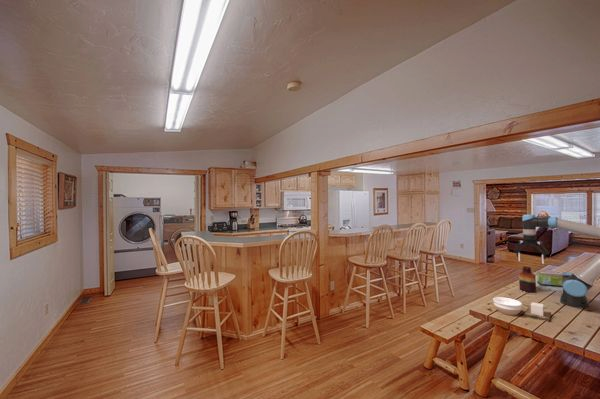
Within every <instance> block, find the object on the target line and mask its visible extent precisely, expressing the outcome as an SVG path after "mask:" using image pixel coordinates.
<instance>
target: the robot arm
mask: <svg viewBox="0 0 600 399" xmlns="http://www.w3.org/2000/svg"><path fill="white" fill-rule="evenodd" d="M521 216H522V234H523V235H522V237H523V238H522V240H520V239H519V240H518V241H517V244H516V245H515V248H514V249H513V252H514V253H516V257H517V258H518V262H521V251H522V250H523V249H524V248H526V247H527V248H529V247H530V248H533V247H534V248H535V249H537V251H538V252H540V253H541V263H542V265H544V264H545V260H546V259H547V258H546V256H547V255H549V254H550V253H549V251H548V250H547V249H546V246H544V243H543V241H542V240H541V241H537V235H536V234H537V230H536V228H550V229H551V228H554V229H557V230H558V229H559V230H563V231H568V232H572V233H575V234H576V233H577V234H579V235H584V236H588V237H593V238H598V239H600V226H595V225H591V224H586V223H581V222H576V221H572V220H568V219H562V218H558V217H553V216H549V215H544V216H540V217H538V216H536V215H535V214H523V215H521ZM521 244H523V245H522V246H521V247H520V245H521ZM538 245H540V247H541V248H542V249H543V250H542V249H541V248H540V247H539V246H538ZM519 247H520V248H519ZM561 273H562V283H563V292H562V293H561V296H560V298H559V302H560V303H561V304H563V305H565V306H568V307H569V306H570V307H574V308H577V309H578V308H580V309H589V308H590V307H591V304H590V302H589V300H588V297H587V296H586V295H587V294H588V292H589V290H590V289H592V288H593V287H594V286H595V285H594V282H595V281H596V280H598V278H600V253H599V254H597V255H596V256H595V257H594V258H593V259H592V260H591V261H590V262H588V263H587V264H586V265H585V266H584V267H583V268H582V269H580V270H579V271H578V272H568V271H565V272H561Z"/></svg>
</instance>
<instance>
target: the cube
mask: <svg viewBox="0 0 600 399" xmlns="http://www.w3.org/2000/svg"><path fill="white" fill-rule="evenodd" d="M530 308H531V314H536V315H540V316H543V315H544V311H545V305H544V304H543V303H538V302H534V301H533V302H532V301H531V303H530Z"/></svg>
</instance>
